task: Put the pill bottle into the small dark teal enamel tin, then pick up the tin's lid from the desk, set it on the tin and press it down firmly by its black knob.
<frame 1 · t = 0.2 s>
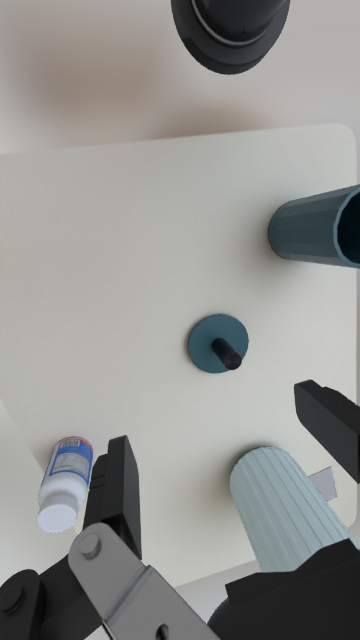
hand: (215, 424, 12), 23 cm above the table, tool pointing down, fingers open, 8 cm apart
vase: (256, 465, 45), on the table
pot: (294, 230, 34), on the table
pill bottle: (74, 450, 38), on the table
lid: (217, 343, 36), point 1 cm above the table
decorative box: (313, 490, 49), on the table
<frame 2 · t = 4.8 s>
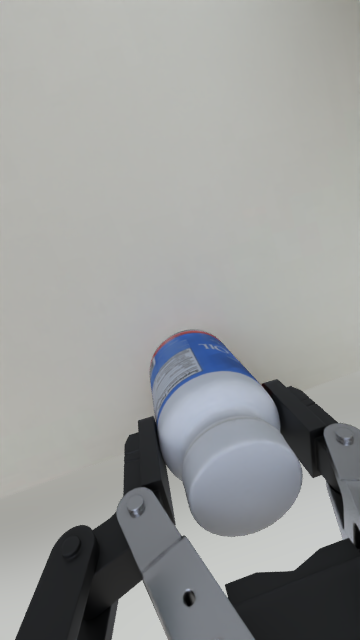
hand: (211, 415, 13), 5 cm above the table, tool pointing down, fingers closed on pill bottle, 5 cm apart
pill bottle: (188, 364, 18), on the table, touching gripper
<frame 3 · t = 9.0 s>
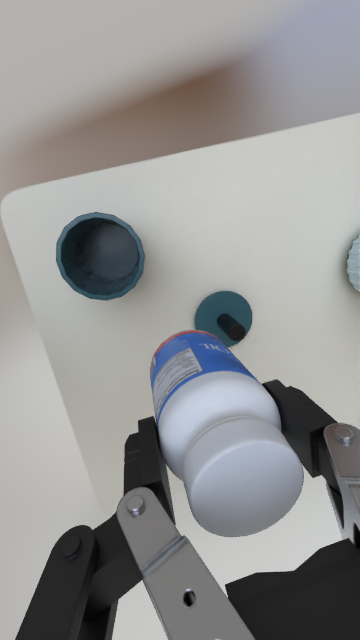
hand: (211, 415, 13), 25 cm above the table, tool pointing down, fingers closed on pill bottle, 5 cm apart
pot: (111, 251, 34), on the table
pill bottle: (188, 363, 18), point 19 cm above the table, touching gripper
lid: (223, 319, 38), point 1 cm above the table
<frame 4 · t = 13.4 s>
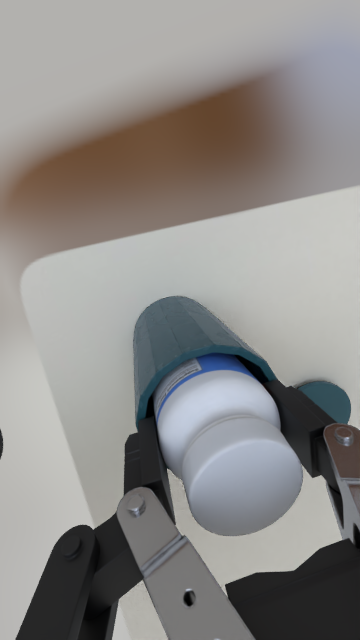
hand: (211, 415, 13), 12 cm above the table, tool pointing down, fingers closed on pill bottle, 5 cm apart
pot: (174, 336, 24), on the table
pill bottle: (188, 363, 18), point 6 cm above the table, touching gripper
lid: (311, 416, 28), point 1 cm above the table
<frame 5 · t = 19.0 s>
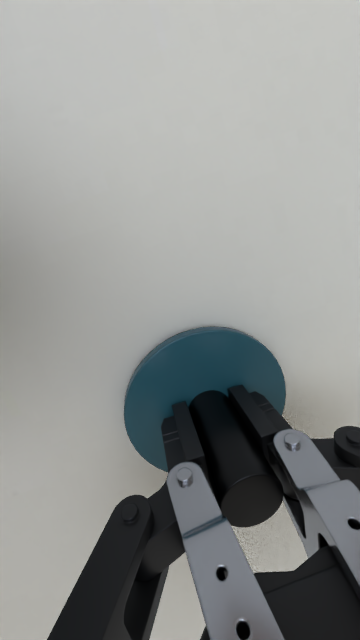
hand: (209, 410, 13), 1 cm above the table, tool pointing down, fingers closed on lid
lid: (206, 402, 14), point 1 cm above the table, touching gripper
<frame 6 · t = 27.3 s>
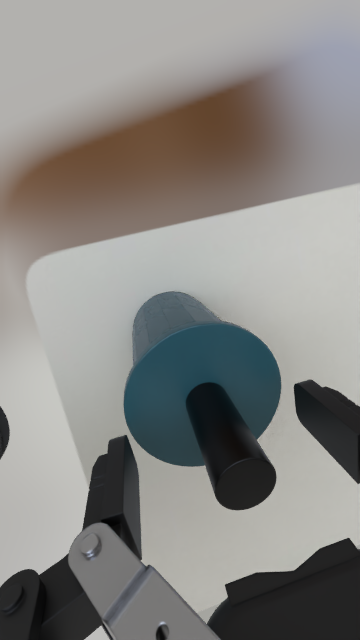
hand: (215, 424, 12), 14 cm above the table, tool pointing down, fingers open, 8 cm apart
pot: (171, 329, 25), on the table
lid: (203, 394, 14), point 11 cm above the table, touching pot
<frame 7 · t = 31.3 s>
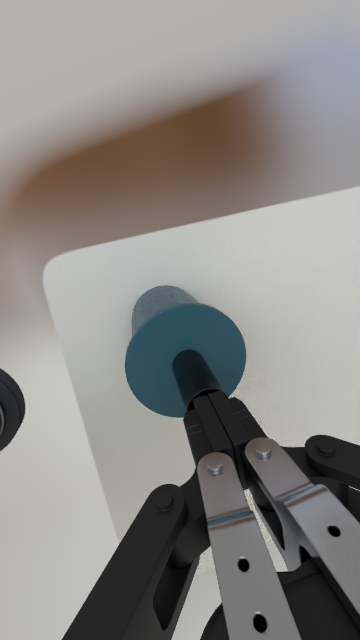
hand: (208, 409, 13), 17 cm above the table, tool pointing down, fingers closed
pot: (165, 318, 29), on the table
lid: (186, 360, 19), point 11 cm above the table, touching gripper, pot
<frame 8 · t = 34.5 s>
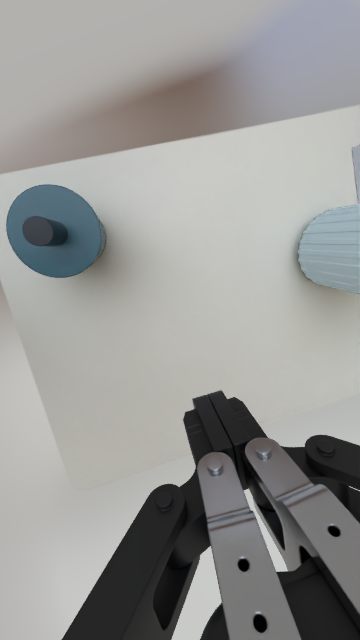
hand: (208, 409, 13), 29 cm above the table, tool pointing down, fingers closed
vase: (321, 247, 43), on the table
lid: (56, 233, 26), point 11 cm above the table, touching pot
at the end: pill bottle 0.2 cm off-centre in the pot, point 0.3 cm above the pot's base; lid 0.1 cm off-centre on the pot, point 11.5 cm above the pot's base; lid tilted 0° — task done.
